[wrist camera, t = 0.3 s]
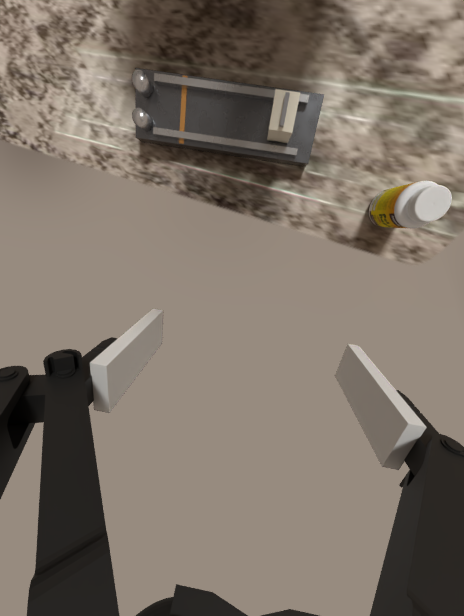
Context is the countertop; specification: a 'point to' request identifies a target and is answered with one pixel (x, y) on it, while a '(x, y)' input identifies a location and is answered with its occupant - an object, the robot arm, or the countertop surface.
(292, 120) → the fader tab
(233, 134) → the console
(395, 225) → the supplement bottle
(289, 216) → the countertop surface
